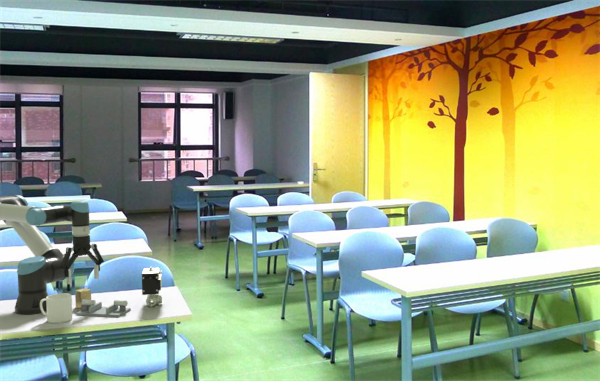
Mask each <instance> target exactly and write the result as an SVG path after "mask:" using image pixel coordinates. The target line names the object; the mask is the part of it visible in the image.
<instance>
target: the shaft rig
mask: <svg viewBox="0 0 600 381" xmlns="http://www.w3.org/2000/svg"><path fill="white" fill-rule="evenodd" d="M81 304H82V305H83V306H81V309H80V310H79V311H78V312H76V315H75V316H87V317H108V318H120V317H122V316H124V315H125V314H127V313H128V312H130V311H131V308H130V307H127V306H128V300H122V299H121V300H119V299H114V300H113V303H112V304H110V305H109V306H103V305H102V304H103V303H102V301H99V302H96V300H95V299H91V300H82V302H81Z"/></svg>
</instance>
